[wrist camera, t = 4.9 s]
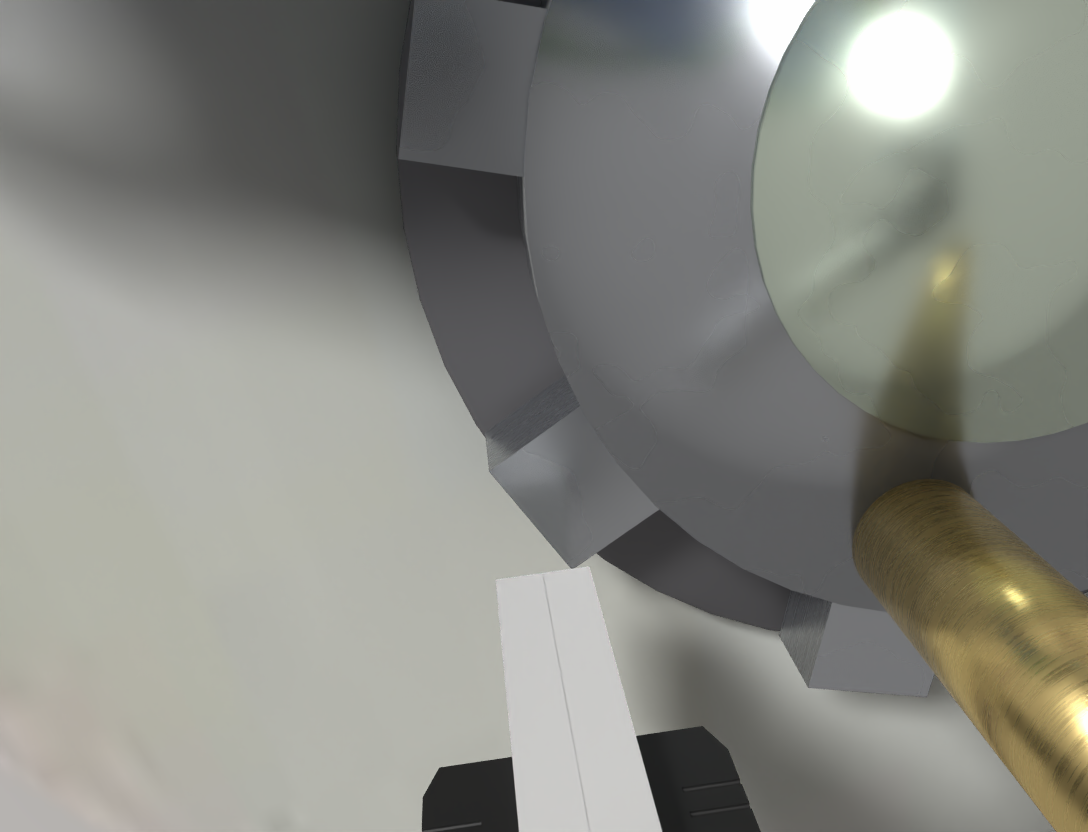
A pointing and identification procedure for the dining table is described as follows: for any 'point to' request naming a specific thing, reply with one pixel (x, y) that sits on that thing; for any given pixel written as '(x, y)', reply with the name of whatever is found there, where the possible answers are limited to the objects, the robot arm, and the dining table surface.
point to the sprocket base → (534, 357)
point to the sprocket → (811, 318)
